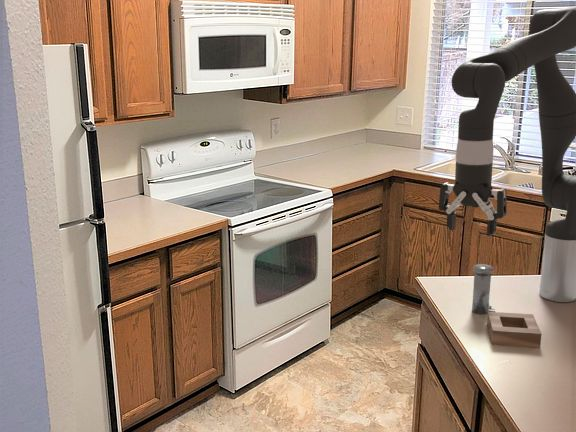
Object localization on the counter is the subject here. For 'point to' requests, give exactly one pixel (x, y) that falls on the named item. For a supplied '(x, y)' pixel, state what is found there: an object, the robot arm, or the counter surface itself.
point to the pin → (481, 288)
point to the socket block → (513, 329)
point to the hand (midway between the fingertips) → (470, 232)
